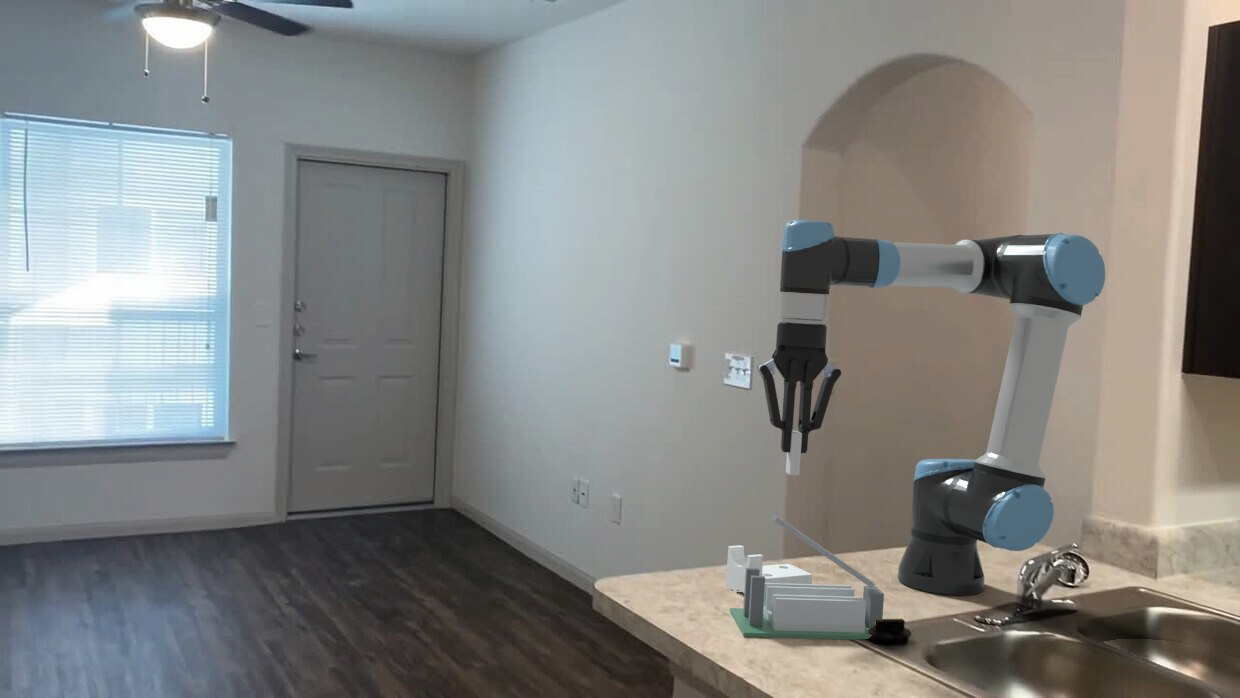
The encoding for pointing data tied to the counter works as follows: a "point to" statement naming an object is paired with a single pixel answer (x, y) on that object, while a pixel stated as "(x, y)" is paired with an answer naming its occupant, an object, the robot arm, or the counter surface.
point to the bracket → (770, 572)
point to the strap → (823, 551)
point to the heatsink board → (806, 610)
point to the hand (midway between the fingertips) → (792, 473)
